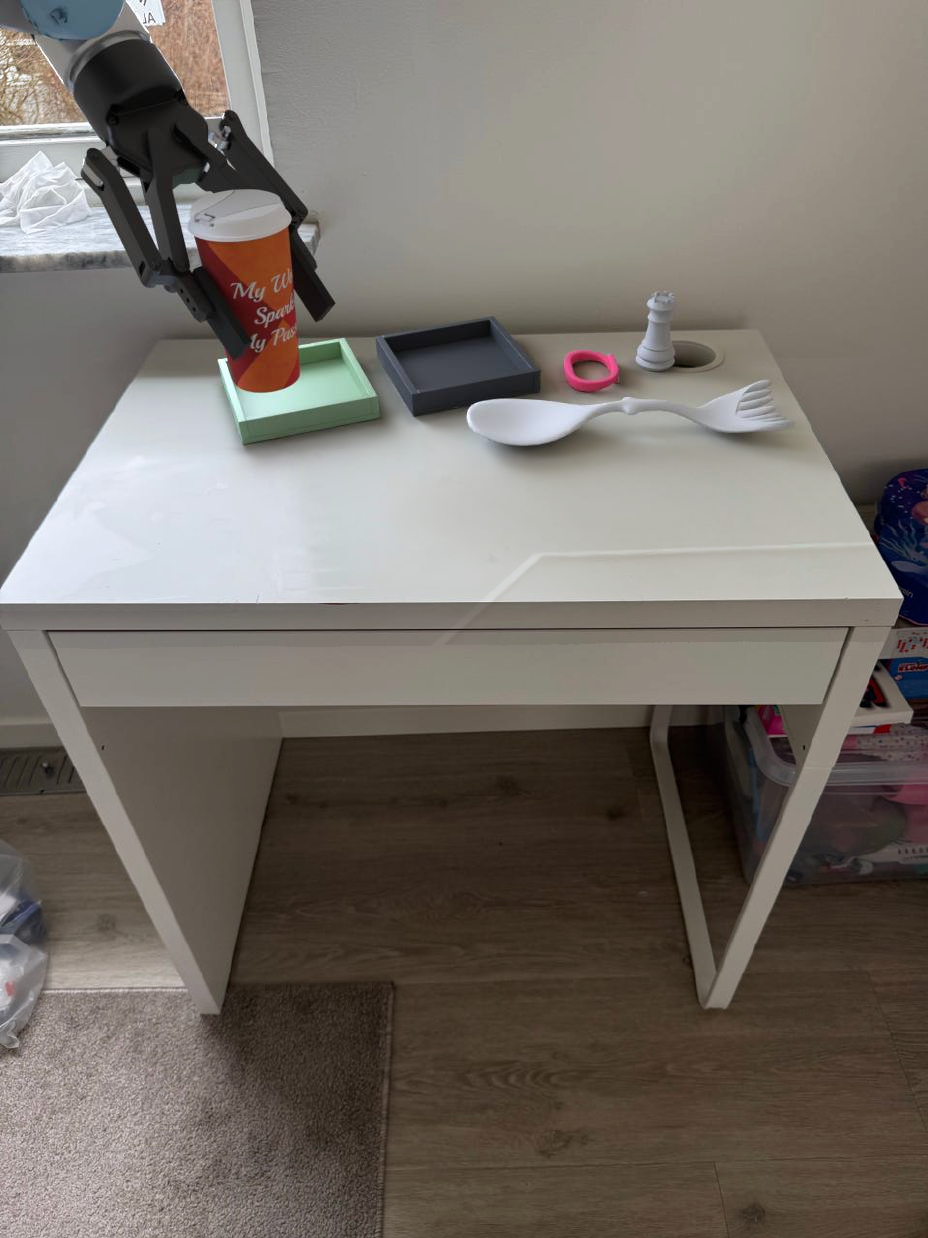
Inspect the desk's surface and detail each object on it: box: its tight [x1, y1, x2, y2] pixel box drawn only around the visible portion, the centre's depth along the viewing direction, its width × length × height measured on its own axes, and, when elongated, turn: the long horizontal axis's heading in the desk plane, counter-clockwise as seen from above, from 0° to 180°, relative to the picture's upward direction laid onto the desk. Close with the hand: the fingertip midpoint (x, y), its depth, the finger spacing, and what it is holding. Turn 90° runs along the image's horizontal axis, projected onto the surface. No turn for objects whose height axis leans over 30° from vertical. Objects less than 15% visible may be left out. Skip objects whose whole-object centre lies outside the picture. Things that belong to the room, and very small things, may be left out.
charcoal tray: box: [375, 315, 542, 417], centre depth 106 cm, size 15×15×3 cm
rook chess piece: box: [635, 290, 678, 372], centre depth 105 cm, size 4×4×8 cm
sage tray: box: [217, 337, 381, 445], centre depth 103 cm, size 15×15×3 cm
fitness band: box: [563, 349, 620, 392], centre depth 106 cm, size 8×6×2 cm
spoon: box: [466, 379, 794, 447], centre depth 96 cm, size 9×32×4 cm, turn 91°
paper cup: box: [187, 189, 300, 393], centre depth 74 cm, size 8×8×14 cm
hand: (285, 331), depth 74 cm, fingers closed on paper cup, 8 cm apart
